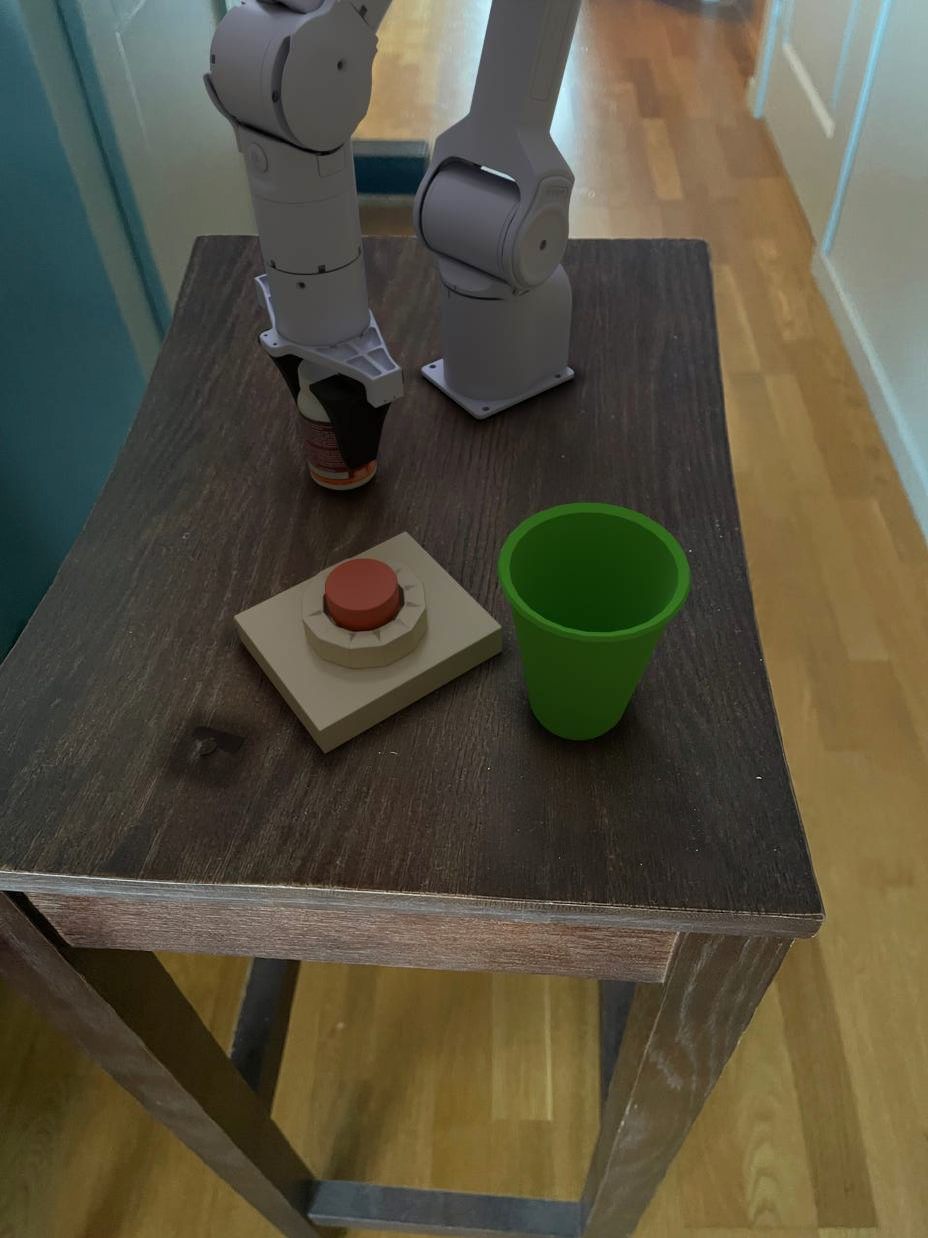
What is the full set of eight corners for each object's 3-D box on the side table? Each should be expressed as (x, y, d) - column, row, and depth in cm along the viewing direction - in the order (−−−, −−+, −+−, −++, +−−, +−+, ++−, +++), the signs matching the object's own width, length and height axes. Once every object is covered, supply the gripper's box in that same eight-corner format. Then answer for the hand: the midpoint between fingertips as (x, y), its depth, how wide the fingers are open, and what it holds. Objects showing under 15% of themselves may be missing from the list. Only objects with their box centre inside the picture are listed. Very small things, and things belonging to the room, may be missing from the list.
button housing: (408, 555, 59) (403, 509, 56) (502, 651, 54) (503, 605, 51) (240, 640, 55) (226, 594, 52) (324, 754, 49) (314, 711, 46)
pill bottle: (367, 496, 62) (354, 392, 56) (301, 487, 63) (281, 383, 57) (385, 452, 66) (375, 349, 59) (322, 445, 66) (305, 342, 60)
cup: (540, 621, 55) (550, 479, 47) (682, 680, 52) (720, 539, 44) (465, 728, 50) (461, 591, 42) (617, 801, 47) (646, 668, 39)
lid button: (375, 569, 53) (372, 547, 52) (413, 610, 51) (411, 588, 50) (315, 599, 52) (311, 578, 50) (352, 643, 50) (348, 621, 48)
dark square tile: (220, 783, 48) (213, 772, 47) (171, 768, 49) (164, 757, 48) (244, 738, 50) (239, 726, 49) (197, 724, 51) (190, 712, 50)
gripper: (194, 223, 55) (240, 412, 65) (315, 327, 47) (345, 523, 57) (297, 191, 57) (326, 377, 68) (428, 284, 50) (437, 479, 60)
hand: (340, 441), depth 63 cm, fingers closed on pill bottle, 5 cm apart
